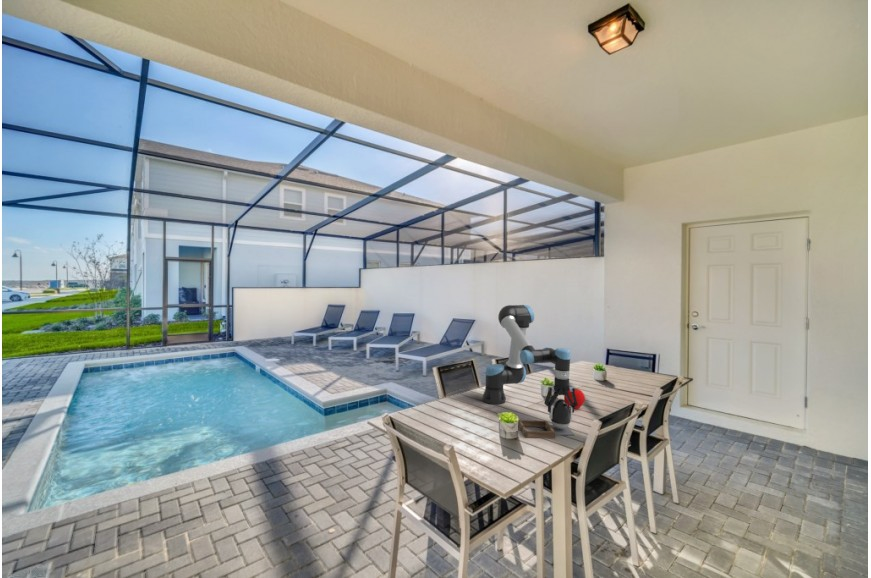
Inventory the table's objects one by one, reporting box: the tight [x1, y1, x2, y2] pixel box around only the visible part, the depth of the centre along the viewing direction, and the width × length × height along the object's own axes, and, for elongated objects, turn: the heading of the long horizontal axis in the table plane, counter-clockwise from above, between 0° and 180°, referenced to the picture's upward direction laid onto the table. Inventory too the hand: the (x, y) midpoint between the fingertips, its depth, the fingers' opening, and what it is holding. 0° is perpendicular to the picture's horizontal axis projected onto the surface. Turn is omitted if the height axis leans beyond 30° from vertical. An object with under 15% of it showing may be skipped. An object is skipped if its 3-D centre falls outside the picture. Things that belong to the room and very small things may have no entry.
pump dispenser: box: [550, 398, 571, 429], centre depth 203 cm, size 10×10×15 cm
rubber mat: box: [549, 424, 575, 436], centre depth 203 cm, size 12×11×1 cm
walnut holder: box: [518, 419, 556, 439], centre depth 201 cm, size 15×15×3 cm
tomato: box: [563, 388, 586, 410], centre depth 238 cm, size 12×12×13 cm
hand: (560, 418), depth 203 cm, fingers closed on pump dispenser, 10 cm apart
